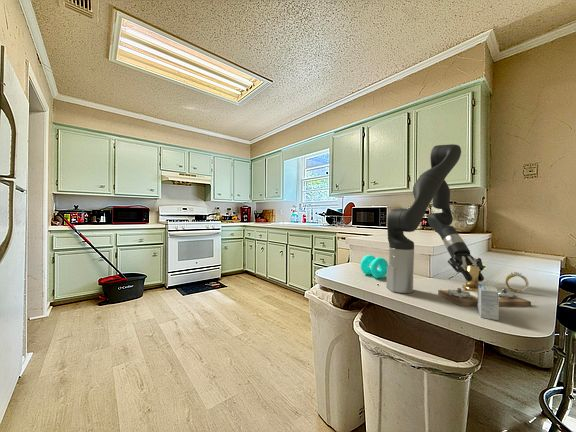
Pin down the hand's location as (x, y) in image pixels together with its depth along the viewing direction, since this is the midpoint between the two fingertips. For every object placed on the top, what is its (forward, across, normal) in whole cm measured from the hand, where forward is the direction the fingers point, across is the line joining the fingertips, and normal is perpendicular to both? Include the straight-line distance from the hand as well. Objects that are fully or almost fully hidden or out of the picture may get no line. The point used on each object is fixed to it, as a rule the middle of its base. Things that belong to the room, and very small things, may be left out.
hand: (476, 280), depth 101 cm
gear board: (+10, -5, -3) cm, 11 cm away
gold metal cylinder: (+2, 0, +5) cm, 5 cm away
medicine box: (+19, -14, -12) cm, 27 cm away
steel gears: (+9, -5, -4) cm, 11 cm away
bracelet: (+3, +17, +3) cm, 18 cm away
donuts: (-13, -33, +20) cm, 40 cm away
